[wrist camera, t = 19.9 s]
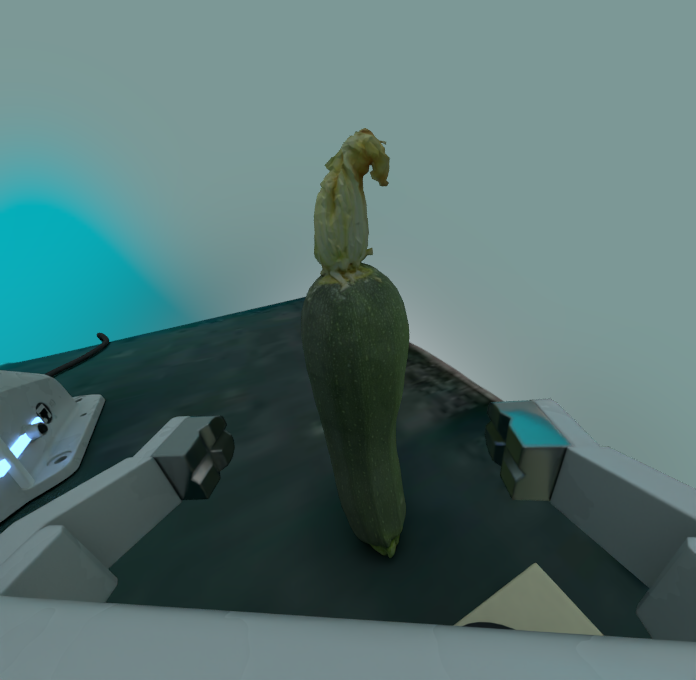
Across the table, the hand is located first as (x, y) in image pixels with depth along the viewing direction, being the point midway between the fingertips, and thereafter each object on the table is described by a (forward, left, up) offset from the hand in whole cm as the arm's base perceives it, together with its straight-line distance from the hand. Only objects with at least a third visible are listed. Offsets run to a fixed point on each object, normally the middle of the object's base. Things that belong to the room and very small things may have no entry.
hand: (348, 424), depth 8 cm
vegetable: (-3, +2, -12) cm, 13 cm away
